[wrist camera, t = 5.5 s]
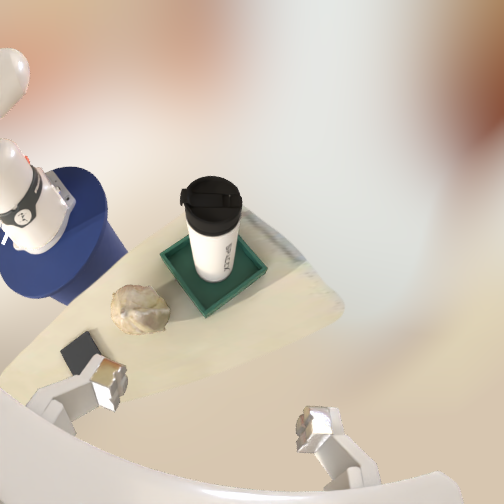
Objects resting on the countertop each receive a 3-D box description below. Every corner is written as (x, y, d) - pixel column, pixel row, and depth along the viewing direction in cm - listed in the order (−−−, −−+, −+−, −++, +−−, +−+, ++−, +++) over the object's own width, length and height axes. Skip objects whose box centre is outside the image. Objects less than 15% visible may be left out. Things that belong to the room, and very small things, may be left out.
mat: (61, 351, 36) (60, 351, 35) (88, 331, 38) (86, 330, 38) (80, 386, 34) (79, 386, 34) (108, 366, 37) (107, 366, 36)
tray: (162, 259, 45) (159, 253, 43) (220, 220, 49) (220, 213, 47) (205, 318, 42) (204, 315, 40) (265, 273, 46) (267, 268, 44)
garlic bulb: (174, 319, 44) (188, 316, 35) (137, 350, 39) (141, 356, 31) (139, 274, 43) (144, 260, 34) (101, 304, 39) (95, 298, 30)
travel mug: (193, 248, 46) (182, 172, 28) (232, 248, 47) (243, 172, 29) (192, 283, 44) (176, 221, 26) (233, 283, 45) (245, 222, 26)
